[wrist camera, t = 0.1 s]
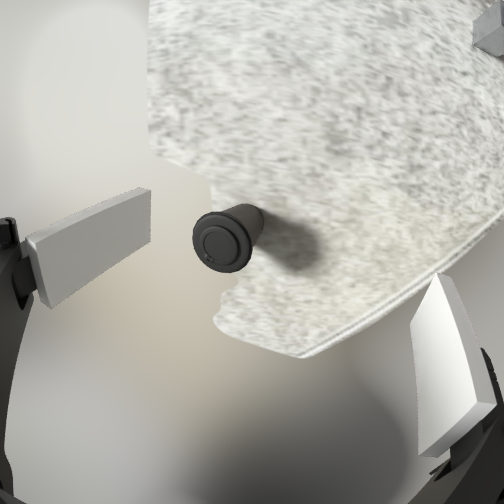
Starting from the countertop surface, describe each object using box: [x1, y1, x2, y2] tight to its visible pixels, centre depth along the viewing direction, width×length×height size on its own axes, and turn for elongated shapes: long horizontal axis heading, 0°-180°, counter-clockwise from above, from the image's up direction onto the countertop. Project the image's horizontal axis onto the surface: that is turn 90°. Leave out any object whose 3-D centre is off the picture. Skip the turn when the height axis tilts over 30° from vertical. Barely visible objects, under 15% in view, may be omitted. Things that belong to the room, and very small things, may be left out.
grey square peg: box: [472, 0, 504, 57], centre depth 15 cm, size 4×4×11 cm
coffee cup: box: [192, 204, 264, 273], centre depth 39 cm, size 8×8×10 cm
